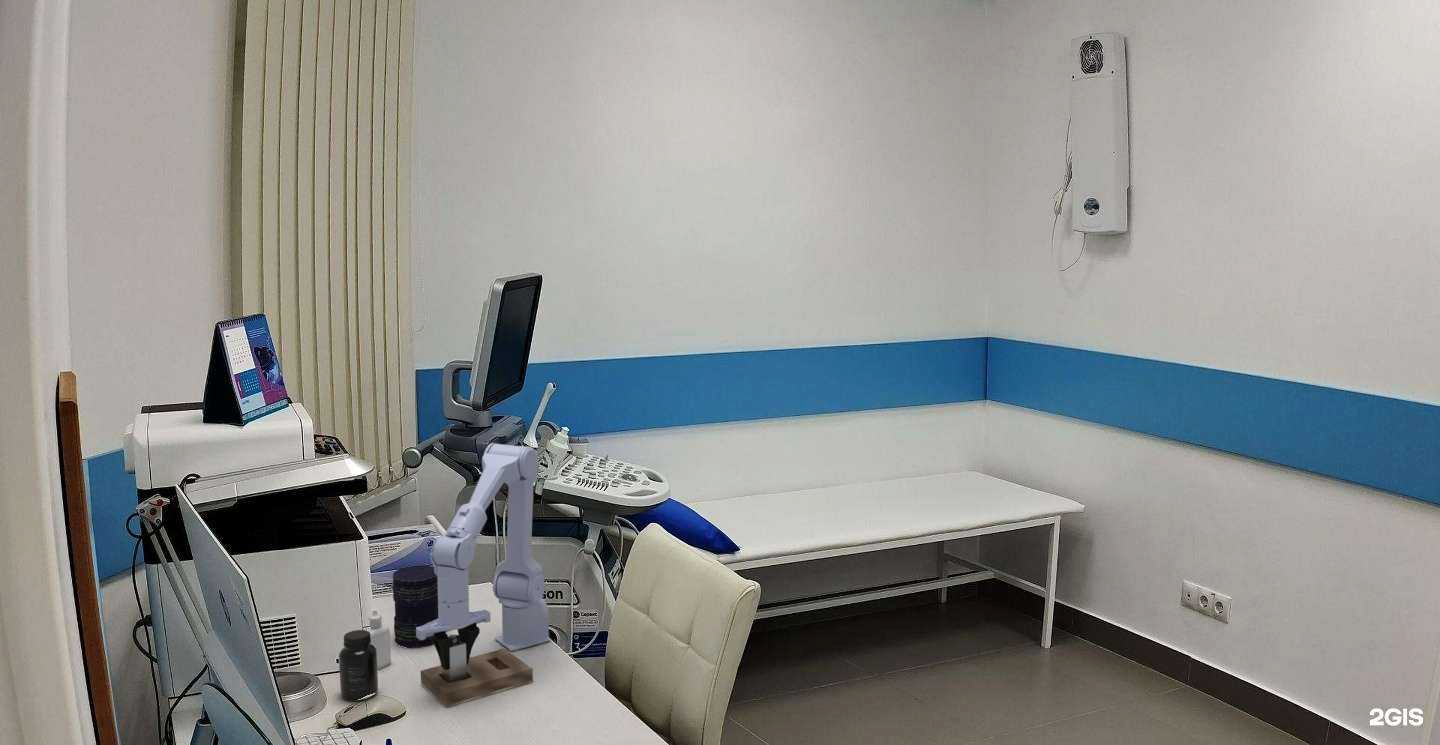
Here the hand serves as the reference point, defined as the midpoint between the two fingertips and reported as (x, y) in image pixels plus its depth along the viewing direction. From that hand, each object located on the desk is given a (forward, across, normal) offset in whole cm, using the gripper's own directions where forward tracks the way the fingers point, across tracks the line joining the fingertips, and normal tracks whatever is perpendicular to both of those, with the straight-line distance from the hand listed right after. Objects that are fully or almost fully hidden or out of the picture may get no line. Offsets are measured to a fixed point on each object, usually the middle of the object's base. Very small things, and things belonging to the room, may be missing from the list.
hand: (454, 665), depth 200 cm
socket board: (+5, -4, 0) cm, 7 cm away
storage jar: (+5, -5, -27) cm, 28 cm away
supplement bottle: (+5, +15, -10) cm, 19 cm away
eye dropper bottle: (+5, +8, -19) cm, 22 cm away
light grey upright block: (+2, 0, 0) cm, 3 cm away
